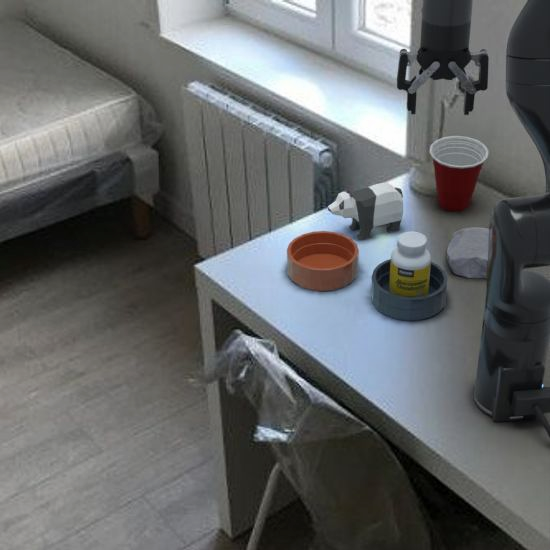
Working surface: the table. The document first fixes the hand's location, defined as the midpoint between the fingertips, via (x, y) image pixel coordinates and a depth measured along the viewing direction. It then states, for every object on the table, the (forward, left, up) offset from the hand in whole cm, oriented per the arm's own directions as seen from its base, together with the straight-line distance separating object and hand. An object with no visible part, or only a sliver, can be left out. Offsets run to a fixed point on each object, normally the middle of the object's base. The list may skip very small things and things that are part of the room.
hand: (439, 112), depth 157 cm
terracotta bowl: (-4, +20, -27) cm, 34 cm away
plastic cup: (+15, -8, -27) cm, 32 cm away
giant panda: (+8, +10, -27) cm, 30 cm away
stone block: (-4, -7, -27) cm, 28 cm away
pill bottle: (-14, +7, -27) cm, 31 cm away
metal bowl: (-14, +7, -27) cm, 31 cm away
